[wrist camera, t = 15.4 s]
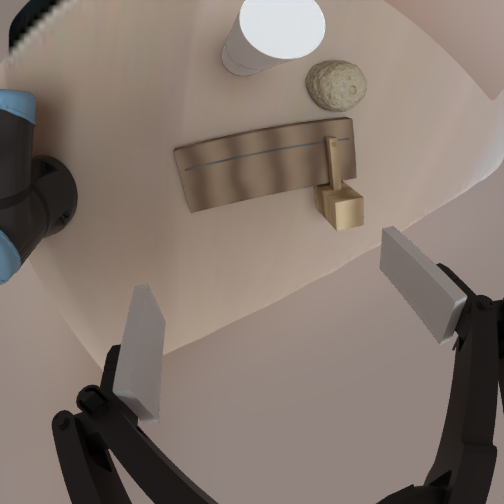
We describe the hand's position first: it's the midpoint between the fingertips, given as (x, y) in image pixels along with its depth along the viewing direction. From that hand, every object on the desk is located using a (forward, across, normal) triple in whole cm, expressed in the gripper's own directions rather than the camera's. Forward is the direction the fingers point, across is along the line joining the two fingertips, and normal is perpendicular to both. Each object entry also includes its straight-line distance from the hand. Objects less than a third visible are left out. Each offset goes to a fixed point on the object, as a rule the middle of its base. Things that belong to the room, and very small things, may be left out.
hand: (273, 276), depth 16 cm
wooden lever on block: (+37, +17, -7) cm, 41 cm away
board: (+37, +7, -4) cm, 38 cm away
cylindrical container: (+37, +6, +15) cm, 40 cm away
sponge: (+37, +20, +8) cm, 43 cm away
